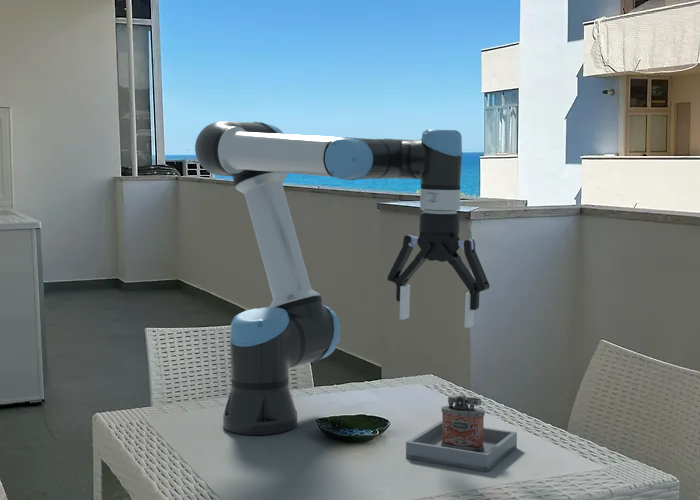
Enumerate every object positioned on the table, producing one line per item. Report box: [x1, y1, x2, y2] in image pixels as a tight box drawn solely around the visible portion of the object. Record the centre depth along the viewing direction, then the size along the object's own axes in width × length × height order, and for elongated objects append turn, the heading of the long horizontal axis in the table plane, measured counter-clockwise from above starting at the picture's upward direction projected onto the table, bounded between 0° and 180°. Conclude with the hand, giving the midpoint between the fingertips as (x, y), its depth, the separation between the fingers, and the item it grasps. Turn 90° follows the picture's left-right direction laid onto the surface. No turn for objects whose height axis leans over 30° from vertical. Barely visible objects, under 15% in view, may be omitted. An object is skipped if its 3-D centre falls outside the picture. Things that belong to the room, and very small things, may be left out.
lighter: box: [441, 393, 485, 452], centre depth 171 cm, size 8×3×10 cm, turn 68°
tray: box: [405, 420, 518, 473], centre depth 172 cm, size 16×16×3 cm
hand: (436, 322), depth 178 cm, fingers open, 13 cm apart
